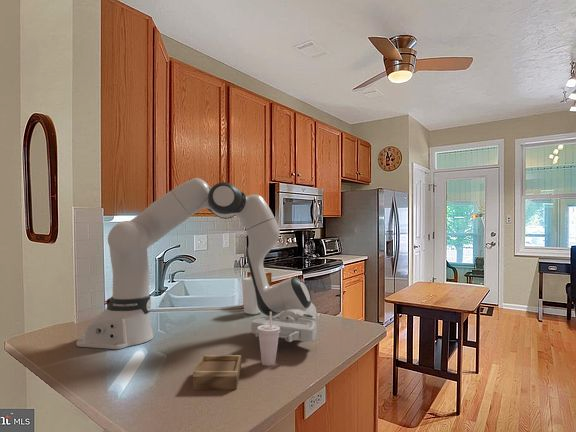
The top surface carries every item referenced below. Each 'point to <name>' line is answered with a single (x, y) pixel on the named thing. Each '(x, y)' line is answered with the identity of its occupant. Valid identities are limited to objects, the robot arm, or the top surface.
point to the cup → (249, 297)
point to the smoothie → (268, 342)
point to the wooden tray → (217, 372)
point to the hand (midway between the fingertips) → (272, 336)
